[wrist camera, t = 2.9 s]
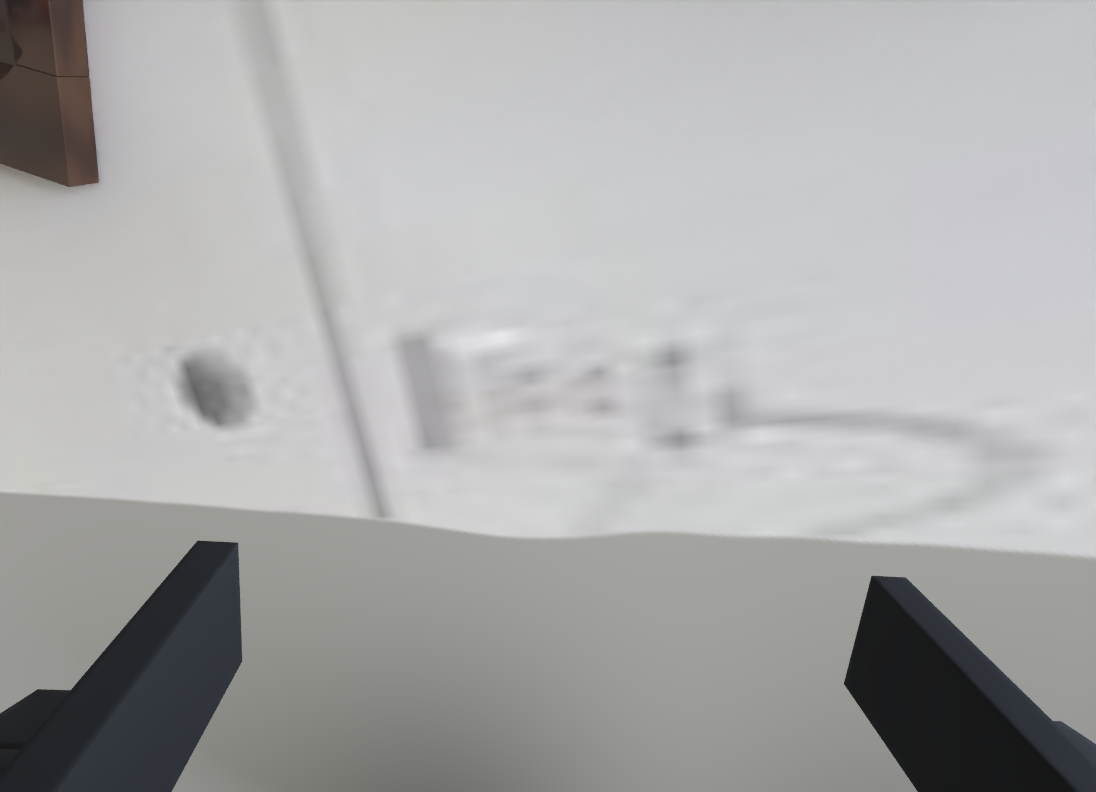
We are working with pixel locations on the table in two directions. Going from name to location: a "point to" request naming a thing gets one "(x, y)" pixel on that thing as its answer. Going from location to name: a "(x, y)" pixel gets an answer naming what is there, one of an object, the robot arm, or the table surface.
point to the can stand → (46, 91)
